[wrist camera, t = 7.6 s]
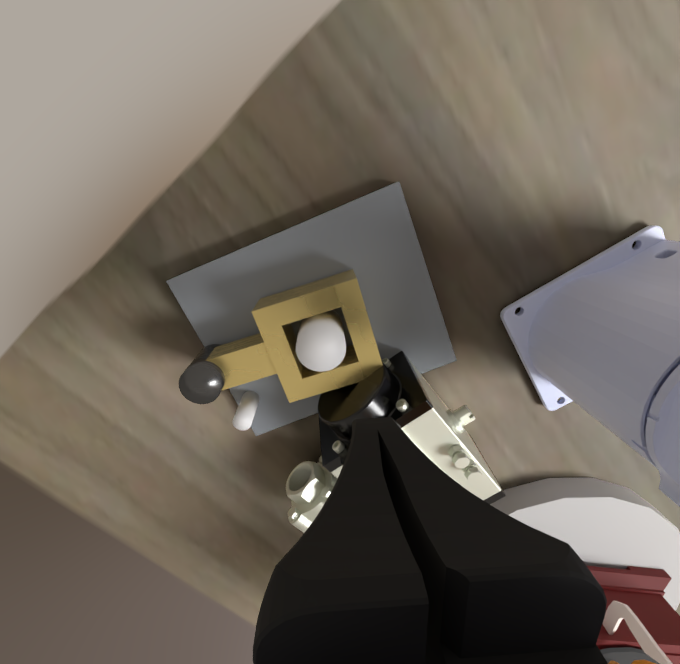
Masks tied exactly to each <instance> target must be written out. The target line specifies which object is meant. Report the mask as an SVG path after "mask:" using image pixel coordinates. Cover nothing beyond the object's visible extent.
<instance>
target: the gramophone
mask: <svg viewBox="0 0 680 664" xmlns="http://www.w3.org/2000/svg"><path fill="white" fill-rule="evenodd" d="M503 491H504V492H505V494H506V496H505V497H503V498H501V499H499V500H497V501H496V502H494V503H492V504H491V506H493V507H495V508H496V509H498V510H500V511H502V512H503V513H505V514H507V515H509V516H511V517H513V518H515V519H516V520H518V521H520V522H522V523H524V524H526V525H528V526H530V527H532V528H534V529H537V530H539V531H541V532H543V533H546V534H548V535H550V536H552V537H555V538H557V539H559V540H561V541H564V542H566V543H568V544H569V545H570V546H571V547H572V549H573V550H574V551H575V552H576V553H577V555H578V556H579V557H580V558H581V559H582V561H583V562H584V563H585V565H586V566H587V567H588V569H589V570H590V571H591V573H592V574H593V576H594V577H595V578H596V580H597V581H598V583H599V584H600V585H601V587H602V588H603V590H604V592H605V596H606V599H607V605H606V613H605V617H604V620H603V623H602V626H601V630H600V633H599V636H598V639H597V643H596V645H597V647H598V648H599V650H600V651H601V653H602V655H603V656H604V658H605V659H606V661H607V663H608V664H680V616H679V615H678V614H677V612H676V609H677V607H678V605H679V603H680V533H679V531H678V528H677V527H676V526H674V525H673V524H672V523H671V522H670V521H669V520H668V519H667V518H666V517H665V516H664V515H663V514H661V513H660V512H659V511H658V510H657V509H656V508H655V507H654V506H652V505H651V504H650V503H648V502H647V501H646V500H644V499H643V498H642V497H640V496H639V495H638V494H636V493H635V492H634V491H632V490H631V489H630V488H628V487H624V486H621V485H617V484H614V483H610V482H607V481H603V480H600V479H596V478H593V477H585V478H547V479H543V480H539V481H535V482H532V483H528V484H524V485H520V486H516V487H513V488H509V489H505V490H503Z"/></svg>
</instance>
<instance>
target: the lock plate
mask: <svg viewBox="0 0 680 664" xmlns="http://www.w3.org/2000/svg"><path fill="white" fill-rule="evenodd" d="M351 269H353V271H354V273H355V275H356V278H357V281H358V284H359V287H360V291H361V294H362V297H363V301H364V304H365V307H366V311H367V314H368V317H369V321H370V324H371V327H372V331H373V334H374V337H375V341H376V344H377V347H378V351H379V354H380V357H381V360H382V359H384V358H388V359H390V358H391V357H393V356H394V355H396V354H397V353H399V352H400V351H403V352H404V353H405V355H406V356H407V357H408V358H409V360H410V361H411V362H412V363H413V365H414V366H415V367H416V369H417V370H418V371H419V373H420V374H422V373H425V372H427V371H430V370H433V369H435V368H438V367H441V366H443V365H446V364H449V363H451V362H454V361H457V360H456V357H455V354H454V351H453V348H452V344H451V341H450V338H449V335H448V332H447V329H446V326H445V323H444V319H443V316H442V313H441V310H440V307H439V304H438V301H437V298H436V295H435V291H434V288H433V285H432V282H431V279H430V276H429V273H428V270H427V266H426V263H425V260H424V257H423V254H422V251H421V248H420V245H419V241H418V238H417V235H416V232H415V229H414V226H413V223H412V220H411V216H410V213H409V210H408V207H407V204H406V201H405V198H404V195H403V191H402V188H401V185H400V182H395V183H393V184H390V185H388V186H386V187H383V188H381V189H379V190H376V191H374V192H372V193H369V194H367V195H365V196H362V197H360V198H358V199H355V200H353V201H351V202H348V203H346V204H344V205H341V206H339V207H337V208H334V209H332V210H330V211H327V212H325V213H323V214H320V215H318V216H316V217H313V218H311V219H309V220H306V221H304V222H302V223H299V224H297V225H295V226H292V227H290V228H288V229H285V230H283V231H281V232H278V233H276V234H274V235H271V236H269V237H267V238H264V239H262V240H260V241H257V242H255V243H253V244H250V245H248V246H246V247H243V248H241V249H239V250H236V251H234V252H232V253H229V254H227V255H225V256H222V257H220V258H218V259H215V260H213V261H211V262H208V263H206V264H204V265H201V266H199V267H197V268H194V269H192V270H190V271H187V272H185V273H183V274H180V275H178V276H176V277H173V278H171V279H169V280H167V281H166V282H167V284H168V285H169V287H170V289H171V290H172V292H173V294H174V296H175V297H176V299H177V301H178V302H179V304H180V306H181V308H182V309H183V311H184V313H185V314H186V316H187V318H188V320H189V321H190V323H191V325H192V327H193V328H194V330H195V332H196V333H197V335H198V337H199V339H200V340H201V342H202V344H203V345H204V347H206V346H208V345H212V344H218V345H224V344H227V343H230V342H233V341H236V340H240V339H243V338H246V337H249V336H252V335H255V334H259V333H260V331H259V329H258V326H257V324H256V322H255V319H254V317H253V314H252V310H253V308H254V307H255V305H256V304H257V302H258V301H259V299H261V298H264V297H267V296H270V295H273V294H276V293H280V292H283V291H286V290H289V289H292V288H295V287H298V286H301V285H305V284H308V283H311V282H314V281H317V280H320V279H323V278H326V277H330V276H333V275H336V274H339V273H342V272H345V271H348V270H351ZM291 325H292V328H293V330H294V333H295V336H296V338H297V342H296V354H297V357H298V359H299V361H300V362H301V363H302V364H303V365H304V366H305V367H307V368H308V369H311V370H313V371H318V372H323V371H329V370H331V369H334V368H335V367H337V366H338V365H339V364H340V363H341V362H342V360H343V359H344V357H345V354H346V347H347V346H351V345H353V342H352V339H351V336H350V333H349V330H348V327H347V324H346V320H345V317H344V314H343V311H342V308H341V307H340V308H337V309H333V310H330V311H327V312H324V313H321V314H317V315H314V316H311V317H308V318H305V319H302V320H298V321H295V322H292V323H291ZM229 390H230V392H231V394H232V395H233V397H234V399H235V400H236V402H237V404H238V409H237V411H236V413H235V416H234V418H233V425H234V427H235V428H237V429H239V430H247V429H249V428H250V427H251V428H252V430H253V431H254V433H255V435H256V436H258V435H260V434H263V433H265V432H268V431H271V430H273V429H276V428H279V427H281V426H284V425H287V424H289V423H292V422H295V421H297V420H300V419H303V418H305V417H308V416H311V415H313V414H316V413H318V401H319V398H320V395H321V394H318V395H314V396H311V397H308V398H304V399H301V400H298V401H294V402H291V403H289V401H288V399H287V396H286V394H285V391H284V389H283V387H282V384H281V382H280V379H279V377H278V375H277V374H274V375H271V376H268V377H264V378H261V379H258V380H255V381H251V382H248V383H245V384H242V385H238V386H235V387H232V388H229Z"/></svg>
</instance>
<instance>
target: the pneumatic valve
mask: <svg viewBox="0 0 680 664" xmlns="http://www.w3.org/2000/svg"><path fill="white" fill-rule="evenodd" d="M381 361H382V364H383V366H382V367H380V368H379V369H377V370H376V371H374V372H373V373H372V374H370V375H369V376H367V377H366V378H365V379H363V380H362V381H360V382H358V383H355V384H351V385H348V386H345V387H341V388H338V389H335V390H331V391H328V392H324V393H321V395H320V398H319V401H318V414H319V425H320V439H321V453H322V455H321V456H320V458H319V463H315V462H312V461H304V462H302V463H300V464H299V465H297V466H296V467H295V468H294V469H293V470H292V472H291V473H290V475H289V477H288V479H287V482H286V493H287V497H289V498H290V499H291V506H292V507H291V508H290V510H289V511H288V517H289V518H288V520H289V522H290V523H291V524H292V525H294V526H295V527H296V528H298V529H299V530H301V531H302V532H303V533H305V531H306V530H307V529H308V527H309V526H310V525H311V523H312V522H313V521H314V519H315V518H316V516H317V515H318V513H319V512H320V510H321V509H322V507H323V505H324V504H325V502H326V500H327V499H328V497H329V495H330V493H331V491H332V489H333V487H334V485H335V483H336V481H337V479H338V477H339V474H340V472H341V469H342V467H343V464H344V462H345V459H346V456H347V453H348V449H349V446H350V442H351V437H352V422H353V421H354V420H355V419H367V418H385V417H391V418H392V419H393V420H394V421H395V422H396V423H397V424H398V426H399V427H400V428H401V429H402V430H403V432H404V433H405V434H406V435H407V436H408V437H409V438H410V439H411V441H412V442H413V443H414V444H415V445H416V446H417V447H418V448H419V449H420V450H421V451H422V452H423V453H424V454H425V455H426V456H427V457H428V458H429V459H430V460H431V461H432V462H433V463H434V464H435V465H437V466H438V467H439V468H440V469H441V470H442V471H443V472H444V473H446V474H447V475H448V476H449V477H451V478H452V479H453V480H455V481H456V482H457V483H459V484H460V485H461V486H463V487H464V488H465V489H467V490H468V491H470V492H471V493H472V494H474V495H475V496H477V497H479V498H480V499H482V500H483V501H485V502H487V503H488V504H490V505H491V504H492V503H494V502H496V501H497V500H499V499H501V498H503V497H505V496H506V494H505V492H504V491H503V489H502V487H501V486H500V484H499V482H498V481H497V479H496V477H495V476H494V474H493V472H492V471H491V469H490V467H489V466H488V464H487V462H486V461H485V459H484V457H483V456H482V454H481V452H480V451H479V449H478V447H477V446H476V444H475V442H474V441H473V439H472V437H471V436H470V435H469V434H468V432H467V431H466V430H465V429H464V427H463V426H465V425H467V424H468V423H470V422H471V421H473V420H475V417H474V415H473V414H472V412H471V411H470V410H469V409H468V407H467V406H466V405H463V406H462V407H460V408H458V409H457V410H455V411H454V412H453V411H452V410H451V409H448V407H447V406H446V405H445V404H444V402H443V401H442V400H441V399H440V397H439V396H438V395H437V394H436V392H435V391H434V390H433V389H432V387H431V386H430V385H429V384H428V382H427V381H426V380H425V378H424V377H423V376H422V375H421V374H420V373H419V371H418V370H417V369H416V367H415V366H414V365H413V363H412V362H411V361H410V360H409V358H408V357H407V356H406V355H405V353H404V352H403V351H400V352H399V353H397V354H396V355H394V356H393V357H391V358H390V359H388V358H384V359H382V360H381Z"/></svg>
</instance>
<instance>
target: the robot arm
mask: <svg viewBox="0 0 680 664" xmlns="http://www.w3.org/2000/svg"><path fill="white" fill-rule="evenodd" d="M635 241H636V245H635V247H633V248H632V244H633V242H635ZM518 307H520V312H519V313H517V314H515V310H516V309H517V308H518ZM500 317H501V320H502V322H503V324H504V326H505V328H506V330H507V332H508V334H509V336H510V338H511V340H512V342H513V344H514V346H515V348H516V350H517V353H518V355H519V357H520V359H521V361H522V363H523V365H524V367H525V369H526V371H527V373H528V375H529V377H530V379H531V381H532V383H533V385H534V387H535V389H536V391H537V393H538V395H539V397H540V399H541V401H542V403H543V405H544V407H545V408H546V409H548V410H550V411H554V410H556V409H558V408H560V407H562V406H564V405H566V404H568V403H570V402H572V401H574V402H575V403H576V404H578V405H579V406H580V407H581V408H583V409H584V410H585V411H586V412H588V413H589V414H590V415H591V416H593V417H594V418H595V419H596V420H598V421H599V422H600V423H601V424H603V425H604V426H605V427H606V428H608V429H609V430H610V431H611V432H613V433H614V434H615V435H616V436H618V437H619V438H620V439H621V440H623V441H624V442H625V443H626V444H628V445H629V446H630V447H631V448H633V449H634V450H635V451H636V452H638V453H639V454H640V455H641V456H643V457H644V458H645V459H646V460H648V461H649V462H650V463H651V464H653V465H654V466H655V467H656V468H657V469H658V470H659V472H660V479H661V480H660V485H659V489H660V490H661V491H662V492H663V493H664V494H665V495H667V496H668V497H669V498H670V499H671V500H672V501H674V502H675V503H676V504H677V505H678V506H679V507H680V241H672V240H665V236H664V233H663V230H662V228H661V227H660V226H656V225H650V226H647V227H645V228H643V229H642V230H640V231H638V232H636V233H635V234H633V235H631V236H629V237H628V238H626V239H624V240H622V241H621V242H619V243H617V244H615V245H614V246H612V247H610V248H608V249H606V250H605V251H603V252H601V253H599V254H598V255H596V256H594V257H592V258H591V259H589V260H587V261H585V262H584V263H582V264H580V265H578V266H577V267H575V268H573V269H571V270H570V271H568V272H566V273H564V274H563V275H561V276H559V277H557V278H556V279H554V280H552V281H550V282H549V283H547V284H545V285H543V286H542V287H540V288H538V289H536V290H535V291H533V292H531V293H529V294H528V295H526V296H524V297H522V298H521V299H519V300H517V301H515V302H514V303H512V304H510V305H508V306H507V307H505V308H504V309H503V310H502V311H501V314H500ZM560 397H561V399H560V400H559V401H557V400H558V398H560ZM606 605H607V599H606V596H605V592H604V590H603V588H602V587H601V585H600V584H599V583H598V581H597V580H596V578H595V577H594V576H593V574H592V573H591V571H590V570H589V569H588V567H587V566H586V565H585V563H584V562H583V561H582V559H581V558H580V557H579V556H578V555H577V553H576V552H575V551H574V550H573V549H572V547H571V546H570V545H569V544H568V543H566V542H564V541H561V540H559V539H557V538H555V537H552V536H550V535H548V534H546V533H543V532H541V531H539V530H537V529H534V528H532V527H530V526H528V525H526V524H524V523H522V522H520V521H518V520H516V519H515V518H513V517H511V516H509V515H507V514H505V513H503V512H502V511H500V510H498V509H496V508H495V507H493V506H491V505H490V504H488V503H487V502H485V501H483V500H482V499H480V498H479V497H477V496H475V495H474V494H472V493H471V492H470V491H468V490H467V489H465V488H464V487H463V486H461V485H460V484H459V483H457V482H456V481H455V480H453V479H452V478H451V477H449V476H448V475H447V474H446V473H444V472H443V471H442V470H441V469H440V468H439V467H438V466H437V465H435V464H434V463H433V462H432V461H431V460H430V459H429V458H428V457H427V456H426V455H425V454H424V453H423V452H422V451H421V450H420V449H419V448H418V447H417V446H416V445H415V444H414V443H413V442H412V441H411V439H410V438H409V437H408V436H407V435H406V434H405V433H404V432H403V430H402V429H401V428H400V427H399V426H398V424H397V423H396V422H395V421H394V420H393V419H392V418H391V417H385V418H367V419H355V420H354V421H353V422H352V437H351V442H350V446H349V449H348V453H347V456H346V459H345V462H344V464H343V467H342V469H341V472H340V474H339V477H338V479H337V481H336V483H335V485H334V487H333V489H332V491H331V493H330V495H329V497H328V499H327V500H326V502H325V504H324V505H323V507H322V509H321V510H320V512H319V513H318V515H317V516H316V518H315V519H314V521H313V522H312V523H311V525H310V526H309V527H308V529H307V530H306V531H305V533H304V534H303V535H302V537H301V538H300V539H299V541H298V542H297V543H296V544H295V545H294V546H293V548H292V549H291V550H290V551H289V552H288V553H287V554H286V555H285V556H284V557H283V559H282V560H281V561H280V562H279V563H278V564H277V565H276V566H275V569H274V571H273V574H272V576H271V579H270V581H269V584H268V586H267V589H266V592H265V595H264V598H263V601H262V604H261V608H260V612H259V616H258V620H257V625H256V632H255V639H254V645H253V663H254V664H608V663H607V661H606V659H605V658H604V656H603V655H602V653H601V651H600V650H599V648H598V647H597V645H596V643H597V639H598V636H599V633H600V630H601V626H602V623H603V620H604V617H605V613H606Z"/></svg>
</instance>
